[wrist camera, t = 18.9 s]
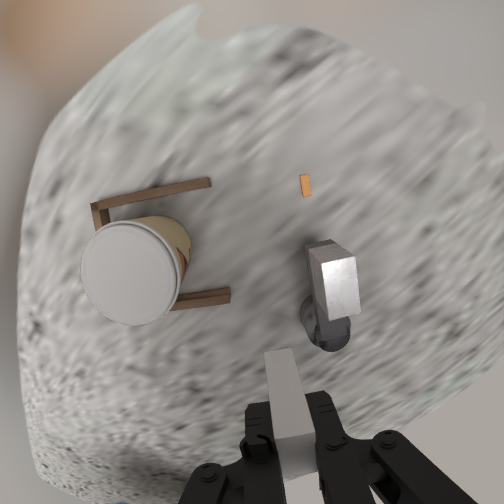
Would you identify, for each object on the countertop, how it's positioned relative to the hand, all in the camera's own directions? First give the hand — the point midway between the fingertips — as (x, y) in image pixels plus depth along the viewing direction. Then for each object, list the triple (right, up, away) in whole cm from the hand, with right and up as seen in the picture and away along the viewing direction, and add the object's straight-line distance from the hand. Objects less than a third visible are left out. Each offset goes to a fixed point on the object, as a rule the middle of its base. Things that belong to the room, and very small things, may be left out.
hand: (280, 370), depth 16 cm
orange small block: (+4, +14, +18) cm, 24 cm away
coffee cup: (-12, +7, +20) cm, 24 cm away
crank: (+6, +2, +16) cm, 17 cm away
